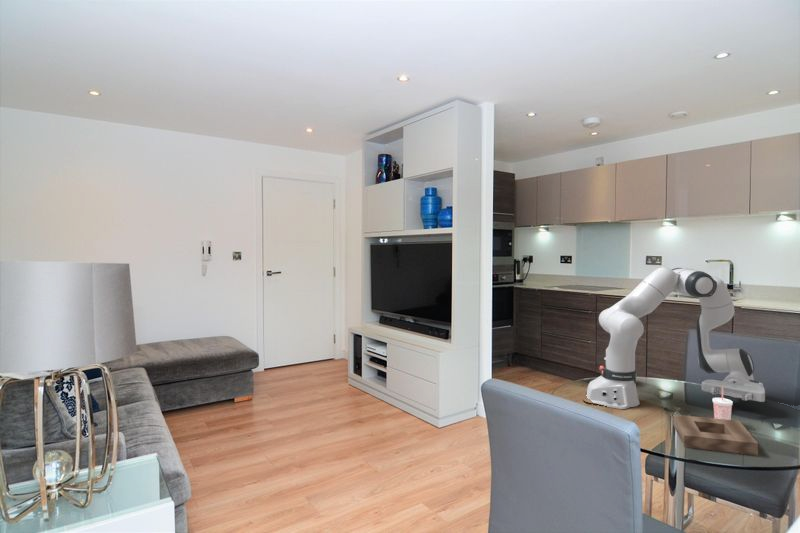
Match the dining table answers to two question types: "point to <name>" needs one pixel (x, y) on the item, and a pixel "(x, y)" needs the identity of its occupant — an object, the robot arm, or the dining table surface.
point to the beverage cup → (722, 408)
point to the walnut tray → (714, 434)
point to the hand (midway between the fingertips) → (728, 395)
